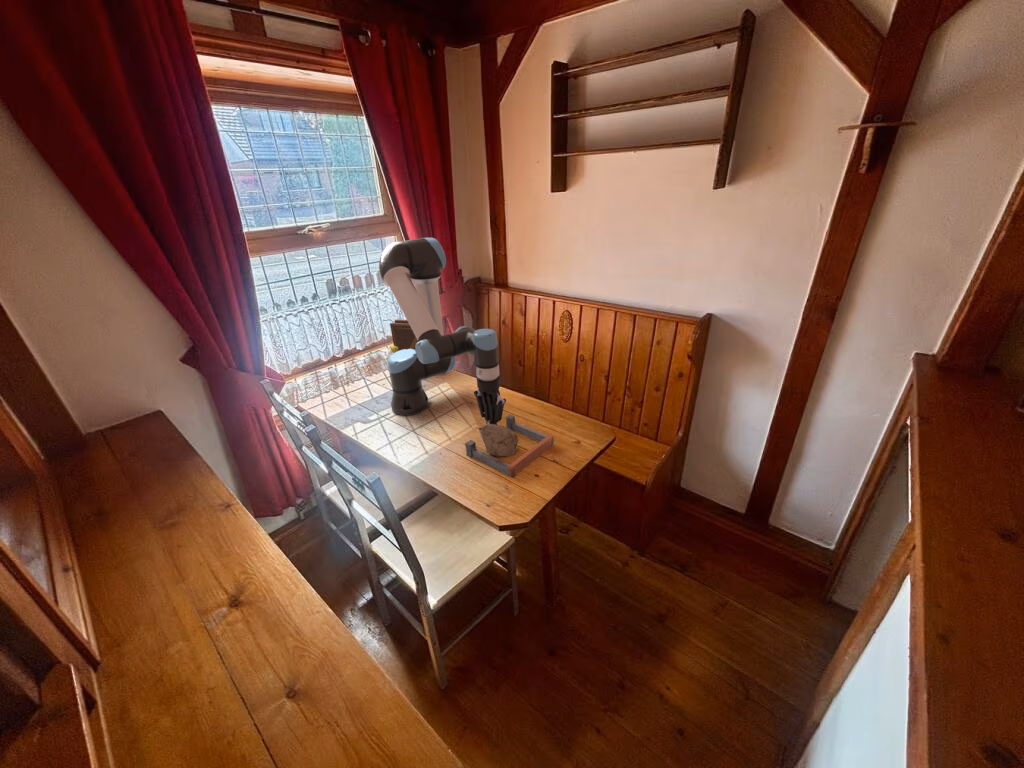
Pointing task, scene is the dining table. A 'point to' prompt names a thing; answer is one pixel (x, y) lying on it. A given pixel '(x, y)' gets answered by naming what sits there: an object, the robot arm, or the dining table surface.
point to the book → (402, 336)
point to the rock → (499, 439)
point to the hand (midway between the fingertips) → (492, 436)
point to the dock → (523, 460)
